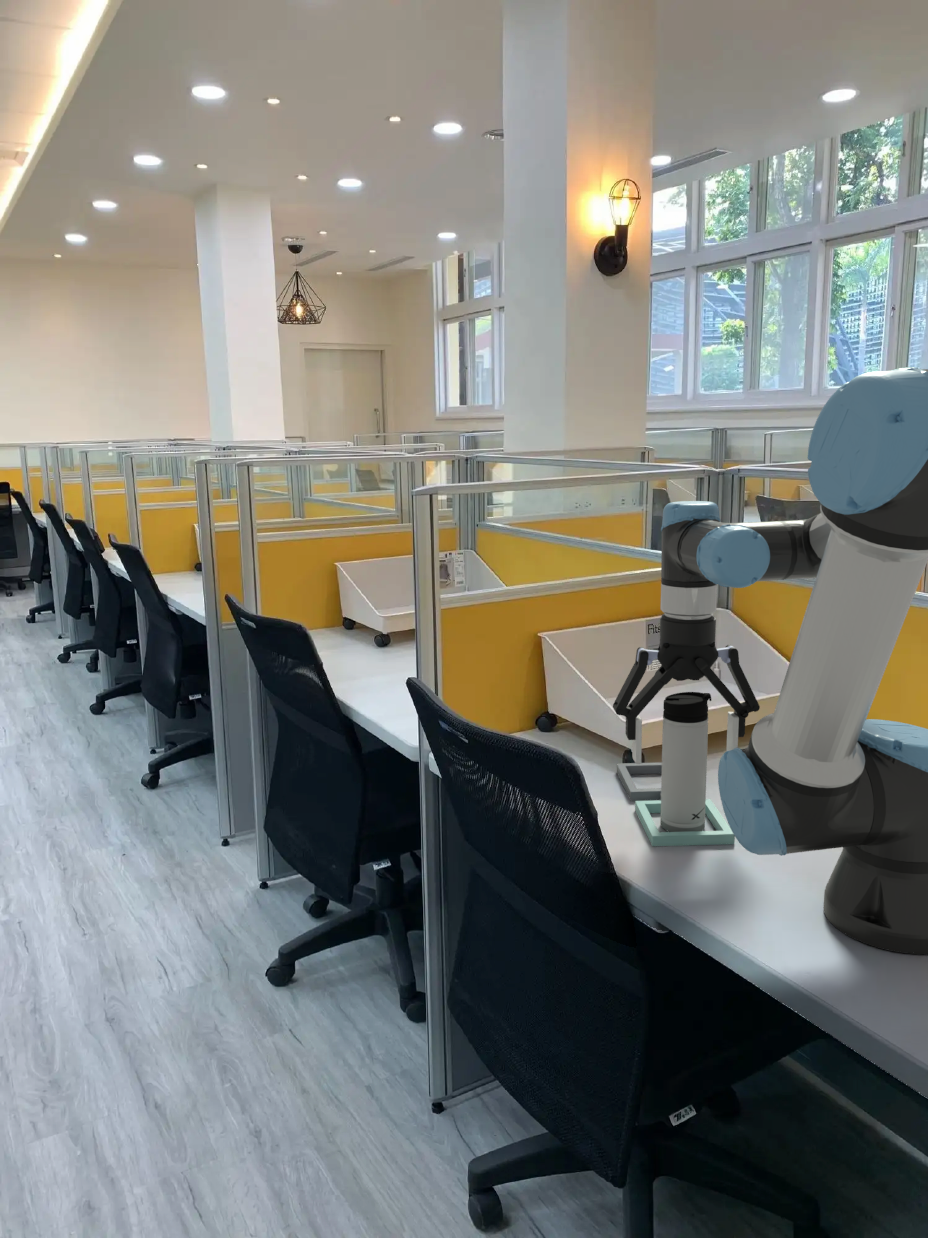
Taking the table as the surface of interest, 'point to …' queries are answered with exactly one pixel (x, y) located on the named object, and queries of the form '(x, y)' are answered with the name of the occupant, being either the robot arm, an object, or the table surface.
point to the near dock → (684, 838)
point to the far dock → (632, 791)
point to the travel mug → (684, 761)
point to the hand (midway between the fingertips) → (684, 759)
